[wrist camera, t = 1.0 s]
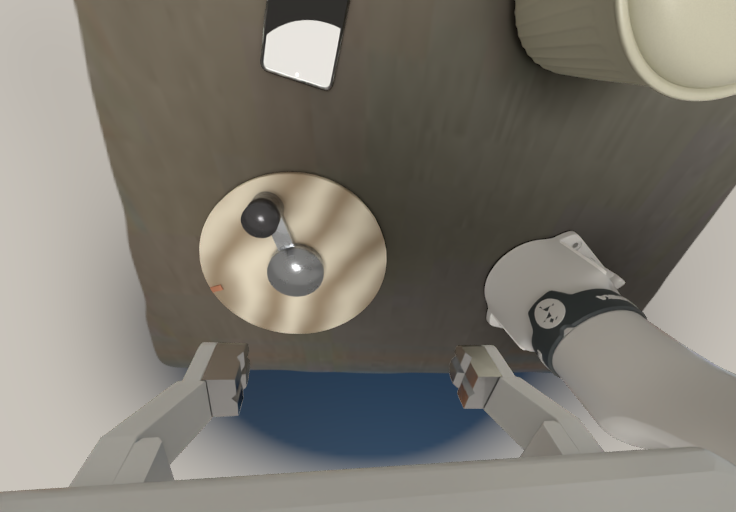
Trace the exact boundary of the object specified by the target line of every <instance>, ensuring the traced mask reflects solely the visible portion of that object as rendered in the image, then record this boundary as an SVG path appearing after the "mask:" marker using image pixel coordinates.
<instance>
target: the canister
mask: <svg viewBox="0 0 736 512" xmlns="http://www.w3.org/2000/svg"><path fill="white" fill-rule="evenodd" d="M514 14H515V17H516V23H515V25H516V27H517V30H518V37H519V38H520V40H521V43H522V47H523V48H525V50H526V52H527V55H528V56H530V57H531V58H532V59H533V61H534V62H535V63H537V64H540V66H541V67H542V68H544V69H546V70H550V71H552V72H554V73H557V74H562V75H568V76H574V77H581V78H587V79H593V80H601V81H609V82H618V83H626V84H634V85H642V86H649V87H650V88H652V89H653V90H655V91H656V92H658V93H660V94H662V95H664V96H667V97H670V98H673V99H677V100H684V101H708V100H715V99H720V98H725V97H728V96H732V95H735V94H736V0H515V11H514Z"/></svg>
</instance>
